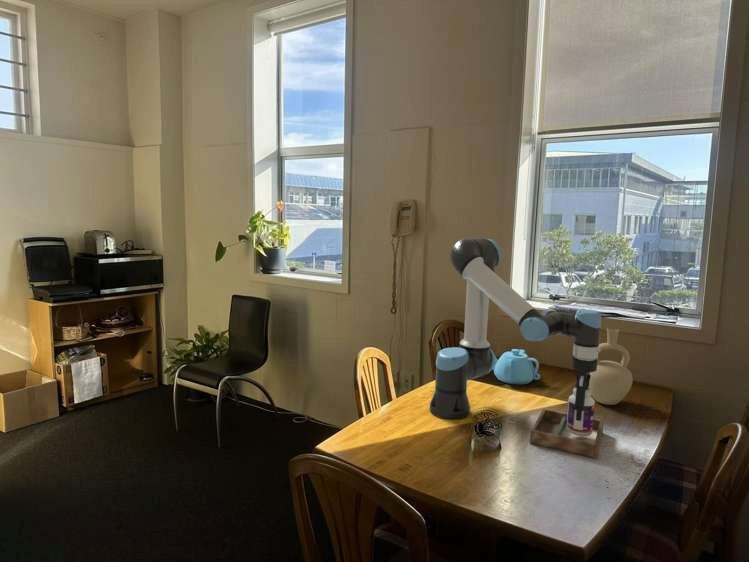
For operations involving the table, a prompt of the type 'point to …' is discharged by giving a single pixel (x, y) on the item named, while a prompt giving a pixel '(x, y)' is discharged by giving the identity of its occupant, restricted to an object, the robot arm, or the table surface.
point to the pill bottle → (588, 414)
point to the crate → (565, 435)
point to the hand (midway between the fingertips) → (579, 424)
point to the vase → (611, 374)
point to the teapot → (515, 368)
